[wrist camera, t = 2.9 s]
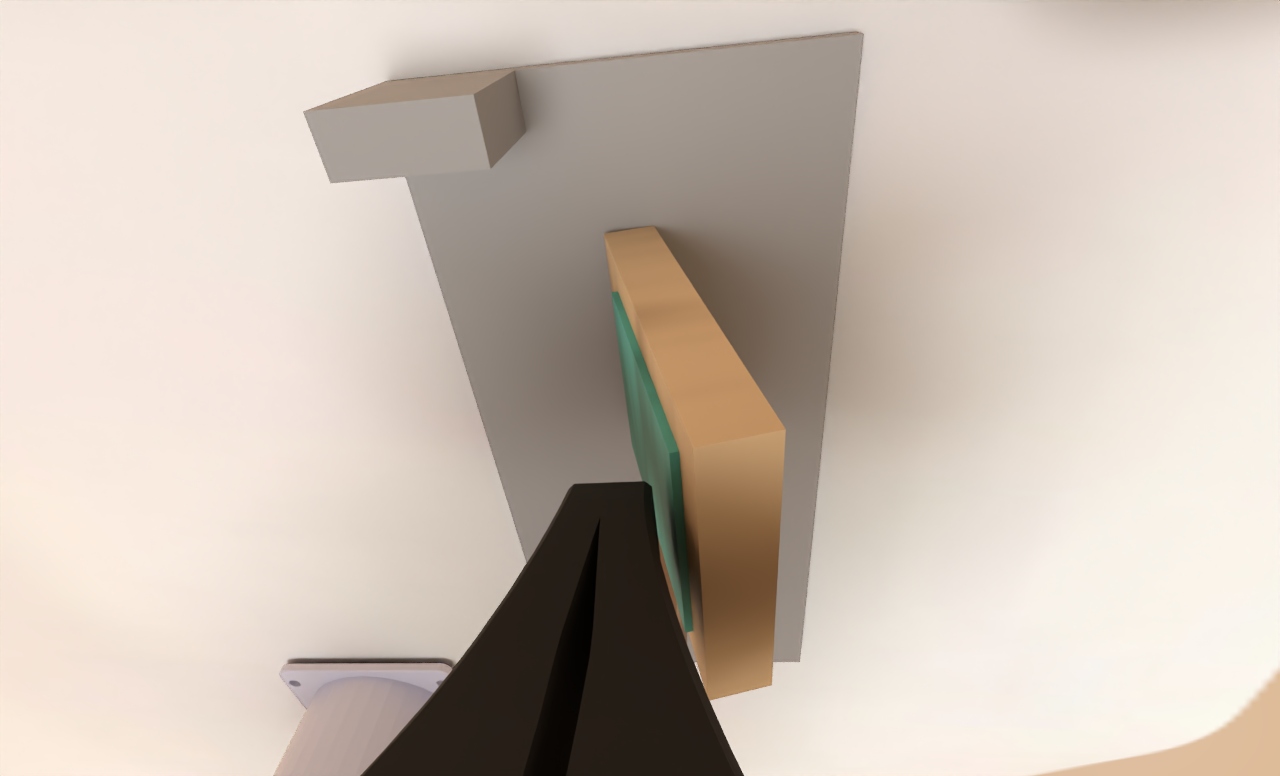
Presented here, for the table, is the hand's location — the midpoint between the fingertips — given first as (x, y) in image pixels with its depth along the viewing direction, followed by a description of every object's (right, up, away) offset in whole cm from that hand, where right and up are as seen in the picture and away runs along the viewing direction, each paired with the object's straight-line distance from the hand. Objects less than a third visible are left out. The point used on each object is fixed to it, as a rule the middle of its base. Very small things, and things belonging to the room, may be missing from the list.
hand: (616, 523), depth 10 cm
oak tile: (0, +4, +5) cm, 6 cm away
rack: (+1, 0, +8) cm, 8 cm away
